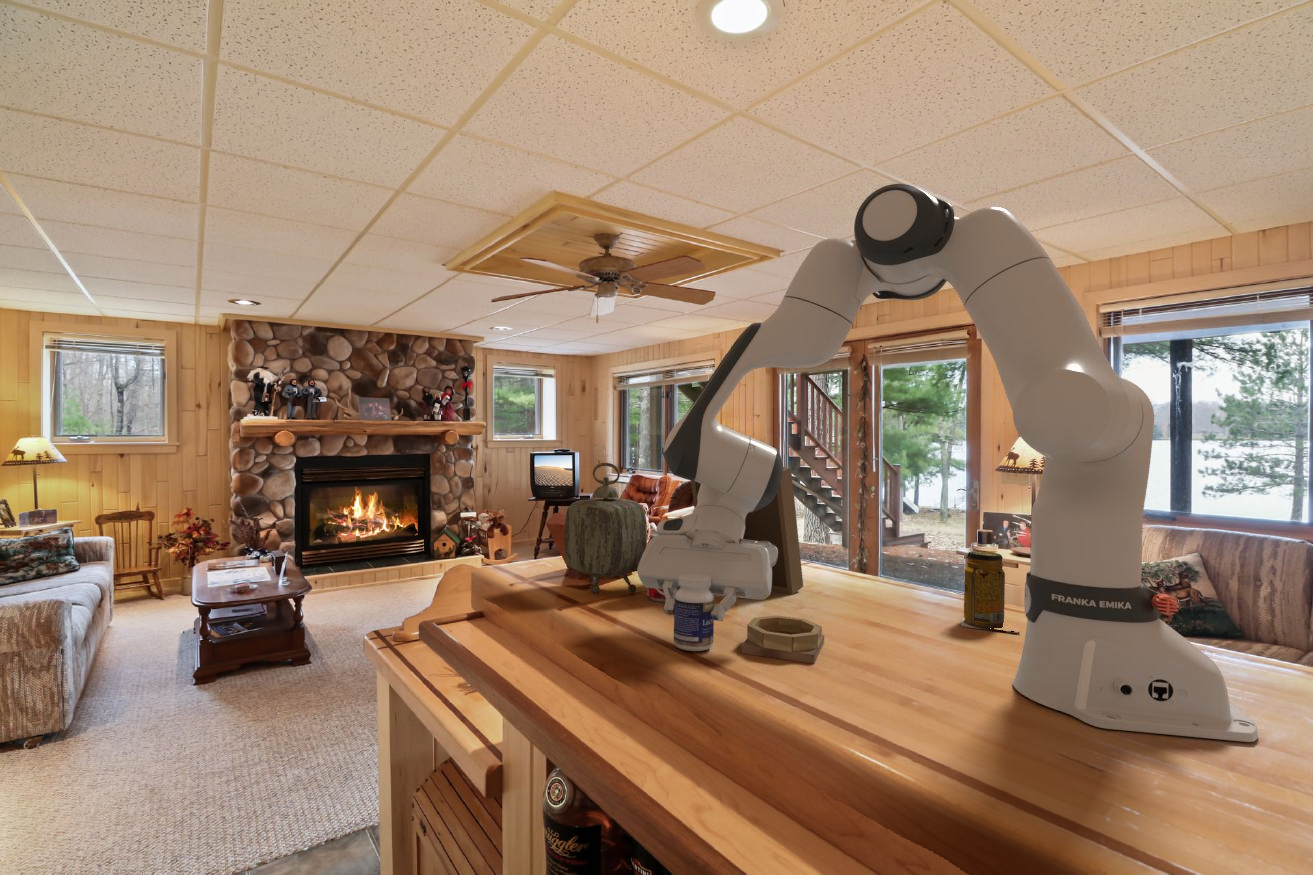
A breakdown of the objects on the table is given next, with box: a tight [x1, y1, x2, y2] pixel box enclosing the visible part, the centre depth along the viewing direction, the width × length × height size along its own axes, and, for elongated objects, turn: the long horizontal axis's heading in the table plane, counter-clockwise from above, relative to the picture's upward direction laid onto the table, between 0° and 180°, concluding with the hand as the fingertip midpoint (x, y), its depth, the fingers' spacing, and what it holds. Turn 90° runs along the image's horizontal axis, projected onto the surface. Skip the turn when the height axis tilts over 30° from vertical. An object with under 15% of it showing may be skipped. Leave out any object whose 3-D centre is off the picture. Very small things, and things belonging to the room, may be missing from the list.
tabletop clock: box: [563, 462, 648, 594], centre depth 125 cm, size 14×9×25 cm, turn 52°
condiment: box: [960, 550, 1019, 634], centre depth 107 cm, size 7×8×12 cm
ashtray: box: [741, 615, 825, 665], centre depth 93 cm, size 10×10×3 cm
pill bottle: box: [673, 574, 715, 652], centre depth 92 cm, size 6×6×10 cm
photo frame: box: [690, 466, 804, 600], centre depth 131 cm, size 15×22×25 cm
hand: (692, 615), depth 92 cm, fingers closed on pill bottle, 6 cm apart
